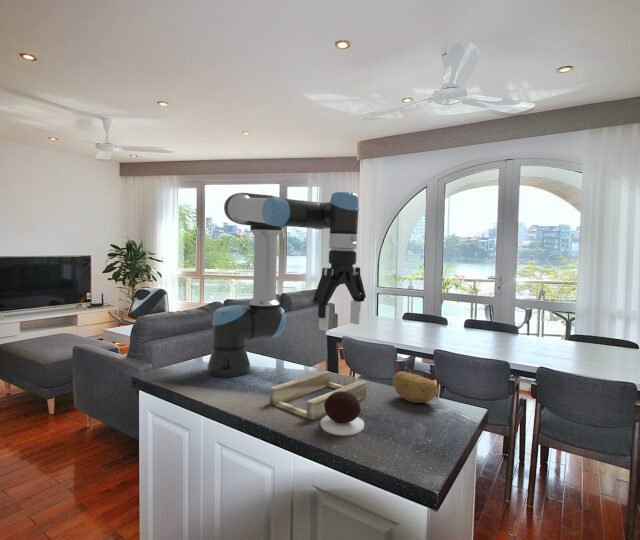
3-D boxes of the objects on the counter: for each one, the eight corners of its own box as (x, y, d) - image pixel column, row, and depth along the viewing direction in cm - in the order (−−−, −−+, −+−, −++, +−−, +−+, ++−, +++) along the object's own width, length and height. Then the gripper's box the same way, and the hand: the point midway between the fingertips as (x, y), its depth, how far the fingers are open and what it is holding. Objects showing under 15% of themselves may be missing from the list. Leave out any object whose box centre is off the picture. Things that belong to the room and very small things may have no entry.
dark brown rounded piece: (326, 413, 103) (327, 385, 103) (361, 417, 102) (362, 388, 101) (320, 426, 95) (321, 396, 95) (358, 431, 94) (359, 399, 93)
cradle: (269, 403, 112) (270, 387, 112) (324, 383, 130) (324, 370, 130) (313, 420, 101) (314, 403, 100) (366, 396, 119) (366, 382, 119)
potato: (427, 413, 107) (428, 384, 107) (385, 398, 117) (386, 372, 117) (444, 404, 114) (445, 377, 114) (403, 391, 124) (404, 366, 124)
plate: (311, 425, 98) (311, 422, 98) (338, 412, 106) (338, 410, 106) (346, 440, 91) (346, 436, 90) (372, 425, 99) (372, 422, 99)
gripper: (322, 249, 95) (319, 335, 96) (379, 251, 113) (376, 323, 114) (300, 248, 100) (298, 330, 101) (358, 250, 118) (355, 319, 119)
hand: (339, 326), depth 108 cm, fingers open, 13 cm apart
